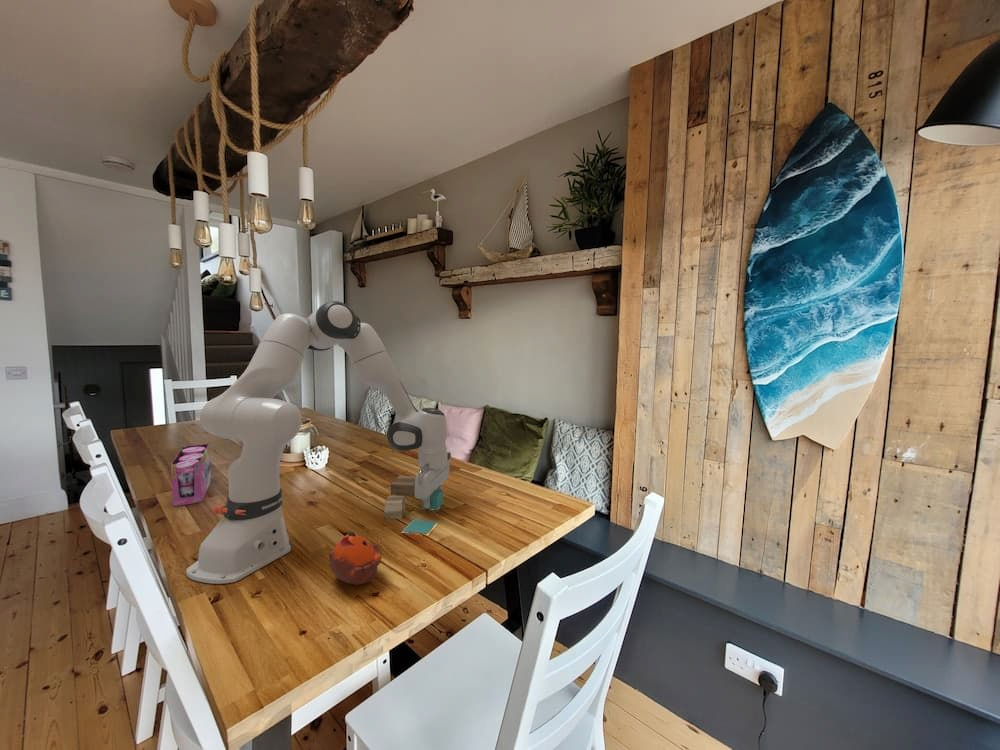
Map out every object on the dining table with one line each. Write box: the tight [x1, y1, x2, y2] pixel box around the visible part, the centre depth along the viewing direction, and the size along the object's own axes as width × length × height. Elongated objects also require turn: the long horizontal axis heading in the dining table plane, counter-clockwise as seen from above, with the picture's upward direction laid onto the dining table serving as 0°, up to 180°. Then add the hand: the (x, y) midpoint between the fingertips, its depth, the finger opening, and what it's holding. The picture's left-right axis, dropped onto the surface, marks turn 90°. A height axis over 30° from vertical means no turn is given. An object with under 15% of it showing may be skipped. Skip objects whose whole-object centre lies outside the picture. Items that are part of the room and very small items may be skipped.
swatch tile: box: [401, 518, 438, 534], centre depth 117 cm, size 8×8×1 cm
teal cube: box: [421, 489, 444, 511], centre depth 131 cm, size 5×5×5 cm
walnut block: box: [390, 475, 416, 497], centre depth 143 cm, size 8×8×4 cm
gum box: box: [170, 443, 212, 507], centre depth 138 cm, size 24×8×14 cm, turn 29°
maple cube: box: [384, 495, 406, 519], centre depth 125 cm, size 5×5×5 cm
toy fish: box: [328, 532, 383, 586], centre depth 92 cm, size 12×10×11 cm
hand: (432, 501), depth 131 cm, fingers open, 7 cm apart
